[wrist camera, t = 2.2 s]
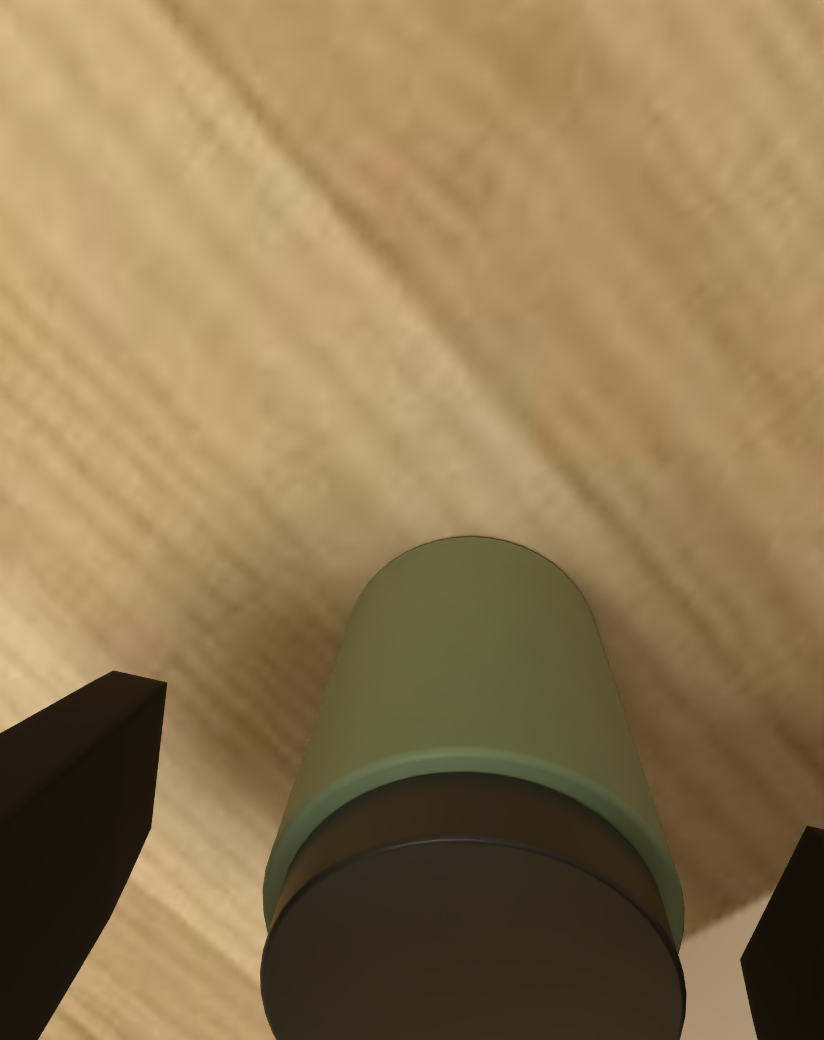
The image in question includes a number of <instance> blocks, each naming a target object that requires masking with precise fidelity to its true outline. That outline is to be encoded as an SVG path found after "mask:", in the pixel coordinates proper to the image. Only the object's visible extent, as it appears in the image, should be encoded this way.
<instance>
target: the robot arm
mask: <svg viewBox="0 0 824 1040" xmlns="http://www.w3.org/2000/svg"><path fill="white" fill-rule="evenodd" d="M166 689H167V682H163V681H158V680H154V679H149V678H145V677H140V676H136V675H131V674H127V673H122V672H118V671H111V672H110V673H108V674H106V675H104V676H102V677H100V678H98V679H96V680H94V681H93V682H91V683H89V684H87V685H85V686H84V687H82V688H80V689H78V690H77V691H75V692H73V693H71V694H69V695H68V696H66V697H64V698H62V699H61V700H59V701H57V702H55V703H54V704H52V705H50V706H48V707H47V708H45V709H43V710H41V711H39V712H38V713H36V714H34V715H32V716H31V717H29V718H27V719H25V720H23V721H22V722H20V723H18V724H16V725H14V726H13V727H11V728H9V729H7V730H5V731H4V732H2V733H0V1040H38V1039H39V1037H40V1035H41V1034H42V1032H43V1030H44V1029H45V1027H46V1025H47V1024H48V1022H49V1020H50V1019H51V1017H52V1015H53V1014H54V1012H55V1010H56V1009H57V1007H58V1005H59V1003H60V1002H61V1000H62V998H63V997H64V995H65V993H66V992H67V990H68V988H69V987H70V985H71V983H72V982H73V980H74V978H75V977H76V975H77V973H78V971H79V970H80V968H81V966H82V965H83V963H84V961H85V960H86V958H87V956H88V954H89V953H90V951H91V949H92V948H93V946H94V944H95V943H96V941H97V939H98V937H99V936H100V934H101V932H102V931H103V929H104V927H105V925H106V924H107V922H108V920H109V919H110V917H111V915H112V912H113V910H114V908H115V906H116V904H117V902H118V900H119V897H120V895H121V893H122V891H123V889H124V887H125V885H126V883H127V880H128V878H129V876H130V874H131V872H132V869H133V867H134V865H135V863H136V860H137V858H138V856H139V854H140V852H141V849H142V847H143V845H144V843H145V840H146V838H147V836H148V834H149V831H150V829H151V824H152V815H153V806H154V797H155V788H156V779H157V770H158V761H159V752H160V743H161V734H162V725H163V716H164V707H165V698H166ZM740 961H741V966H742V971H743V976H744V981H745V985H746V990H747V995H748V999H749V1005H750V1009H751V1014H752V1018H753V1022H754V1026H755V1031H756V1035H757V1038H758V1040H824V829H819V828H815V827H810V826H807V827H806V829H805V831H804V833H803V835H802V837H801V839H800V841H799V843H798V845H797V847H796V849H795V851H794V853H793V855H792V857H791V859H790V861H789V863H788V865H787V867H786V869H785V871H784V873H783V875H782V877H781V879H780V881H779V883H778V885H777V887H776V889H775V891H774V893H773V895H772V897H771V899H770V901H769V903H768V905H767V907H766V909H765V911H764V913H763V915H762V917H761V919H760V921H759V923H758V925H757V927H756V929H755V931H754V933H753V935H752V937H751V939H750V941H749V943H748V945H747V947H746V949H745V951H744V953H743V955H742V957H741V959H740Z"/></svg>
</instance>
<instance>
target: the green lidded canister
mask: <svg viewBox="0 0 824 1040" xmlns="http://www.w3.org/2000/svg"><path fill="white" fill-rule="evenodd" d="M684 910H685V909H684V901H683V894H682V887H681V884H680V881H679V877H678V874H677V871H676V868H675V865H674V862H673V859H672V856H671V853H670V849H669V846H668V843H667V840H666V837H665V834H664V831H663V828H662V825H661V822H660V819H659V816H658V813H657V810H656V807H655V804H654V801H653V798H652V795H651V792H650V789H649V786H648V783H647V780H646V777H645V774H644V771H643V768H642V765H641V762H640V759H639V756H638V753H637V750H636V747H635V744H634V741H633V738H632V735H631V731H630V728H629V725H628V722H627V719H626V716H625V713H624V710H623V707H622V704H621V701H620V698H619V695H618V692H617V689H616V686H615V683H614V680H613V677H612V674H611V671H610V668H609V665H608V662H607V659H606V656H605V653H604V650H603V647H602V644H601V641H600V638H599V635H598V632H597V629H596V626H595V623H594V620H593V616H592V613H591V611H590V609H589V607H588V605H587V603H586V601H585V599H584V597H583V596H582V595H581V593H580V592H579V590H578V589H577V587H576V586H575V585H574V584H573V582H572V581H571V580H570V579H569V578H568V577H567V576H566V575H565V574H564V573H563V572H562V571H561V570H560V569H558V568H557V567H556V566H555V565H554V564H552V563H551V562H549V561H548V560H546V559H545V558H543V557H541V556H540V555H538V554H536V553H534V552H532V551H530V550H528V549H526V548H524V547H521V546H518V545H515V544H512V543H509V542H506V541H501V540H495V539H490V538H479V537H461V538H450V539H445V540H439V541H435V542H431V543H428V544H425V545H422V546H419V547H417V548H415V549H413V550H410V551H408V552H406V553H404V554H402V555H401V556H399V557H398V558H396V559H394V560H393V561H391V562H390V563H389V564H388V565H386V566H385V567H384V568H383V569H382V570H380V571H379V572H378V573H377V574H376V575H375V576H374V578H373V579H372V580H371V581H370V582H369V583H368V584H367V586H366V587H365V589H364V590H363V592H362V593H361V595H360V596H359V598H358V600H357V602H356V604H355V606H354V608H353V611H352V614H351V616H350V619H349V622H348V625H347V628H346V631H345V634H344V637H343V640H342V643H341V646H340V649H339V652H338V655H337V658H336V661H335V664H334V667H333V670H332V673H331V676H330V679H329V682H328V685H327V688H326V691H325V694H324V696H323V699H322V702H321V705H320V708H319V711H318V714H317V717H316V720H315V723H314V726H313V729H312V732H311V735H310V738H309V741H308V744H307V747H306V750H305V753H304V756H303V759H302V762H301V765H300V768H299V771H298V774H297V777H296V779H295V782H294V785H293V788H292V791H291V794H290V797H289V800H288V803H287V806H286V809H285V812H284V815H283V818H282V821H281V824H280V827H279V830H278V833H277V836H276V839H275V842H274V845H273V848H272V851H271V854H270V857H269V860H268V863H267V866H266V870H265V877H264V884H263V911H264V917H265V922H266V927H267V932H268V936H267V939H266V942H265V946H264V949H263V954H262V961H261V968H260V983H261V995H262V1000H263V1005H264V1010H265V1014H266V1017H267V1020H268V1022H269V1025H270V1027H271V1030H272V1032H273V1034H274V1036H275V1038H276V1040H680V1036H681V1032H682V1028H683V1024H684V1020H685V1013H686V988H685V980H684V973H683V970H682V966H681V963H680V959H679V956H678V954H679V950H680V945H681V941H682V936H683V931H684Z"/></svg>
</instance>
